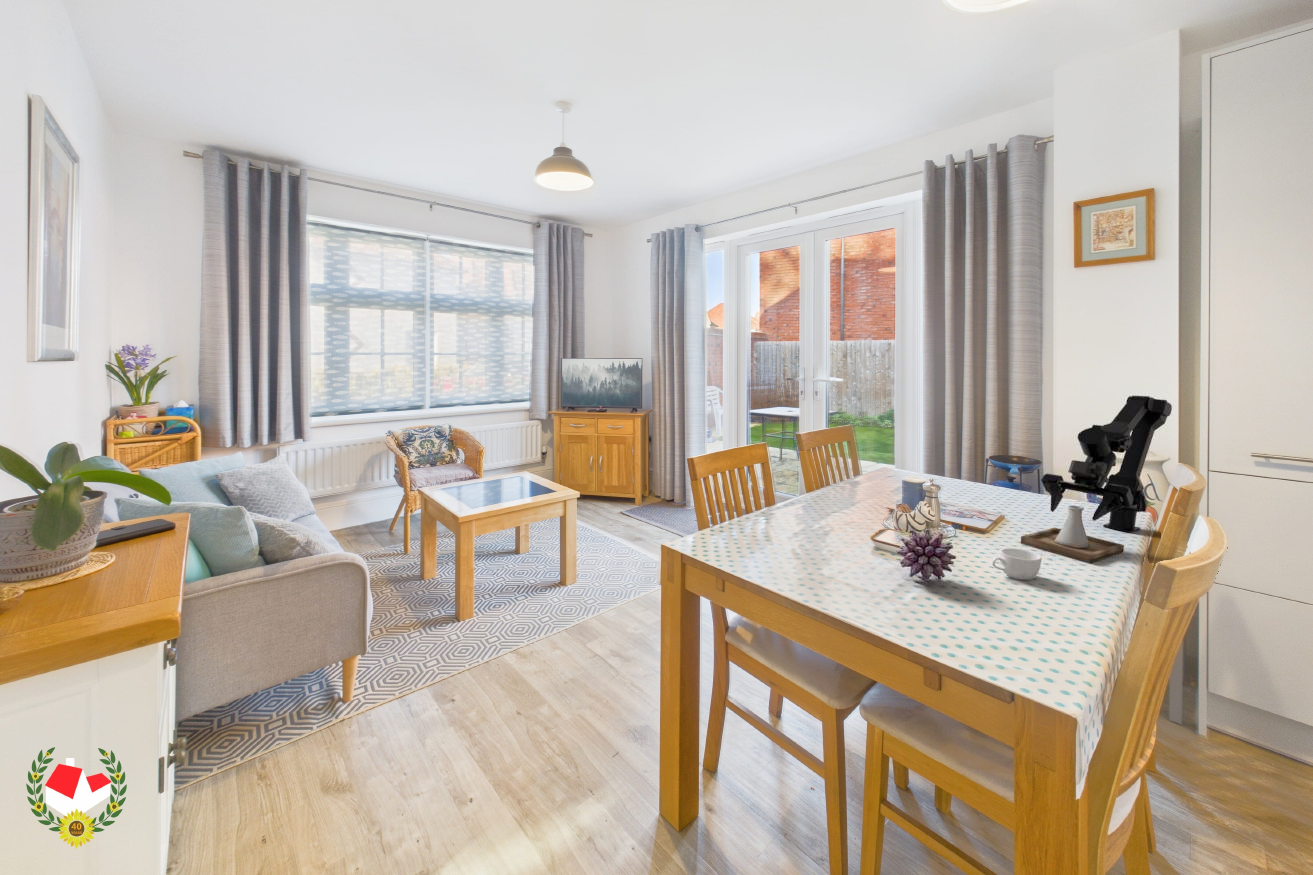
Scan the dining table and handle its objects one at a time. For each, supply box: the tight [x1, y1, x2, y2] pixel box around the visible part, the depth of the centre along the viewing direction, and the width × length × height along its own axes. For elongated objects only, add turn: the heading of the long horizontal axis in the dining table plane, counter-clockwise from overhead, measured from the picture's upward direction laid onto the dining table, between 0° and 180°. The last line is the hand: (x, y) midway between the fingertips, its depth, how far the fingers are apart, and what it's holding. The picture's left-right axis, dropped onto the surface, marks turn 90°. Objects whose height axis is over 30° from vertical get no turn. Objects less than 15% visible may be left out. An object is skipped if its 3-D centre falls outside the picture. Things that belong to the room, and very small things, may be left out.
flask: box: [1054, 504, 1090, 548], centre depth 140 cm, size 7×7×10 cm
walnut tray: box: [1020, 527, 1125, 564], centre depth 141 cm, size 16×16×2 cm
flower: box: [896, 527, 957, 582], centre depth 121 cm, size 12×12×12 cm
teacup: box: [991, 547, 1043, 581], centre depth 123 cm, size 10×8×5 cm
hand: (1072, 515), depth 139 cm, fingers open, 9 cm apart
